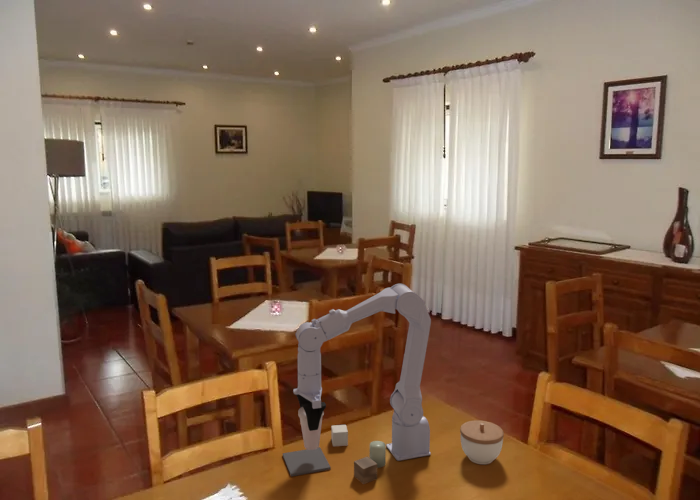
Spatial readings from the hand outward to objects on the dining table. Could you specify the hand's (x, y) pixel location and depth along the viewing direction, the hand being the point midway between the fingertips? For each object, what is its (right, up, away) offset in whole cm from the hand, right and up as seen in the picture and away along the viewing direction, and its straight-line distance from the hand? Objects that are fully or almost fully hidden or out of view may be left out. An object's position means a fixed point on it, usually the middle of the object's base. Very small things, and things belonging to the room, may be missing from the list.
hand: (310, 423), depth 140 cm
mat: (-1, -10, +2) cm, 11 cm away
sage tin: (+17, -10, +1) cm, 20 cm away
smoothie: (0, -6, +2) cm, 7 cm away
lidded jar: (+44, -10, +4) cm, 45 cm away
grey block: (+7, -9, +12) cm, 16 cm away
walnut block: (+14, -12, -5) cm, 19 cm away
